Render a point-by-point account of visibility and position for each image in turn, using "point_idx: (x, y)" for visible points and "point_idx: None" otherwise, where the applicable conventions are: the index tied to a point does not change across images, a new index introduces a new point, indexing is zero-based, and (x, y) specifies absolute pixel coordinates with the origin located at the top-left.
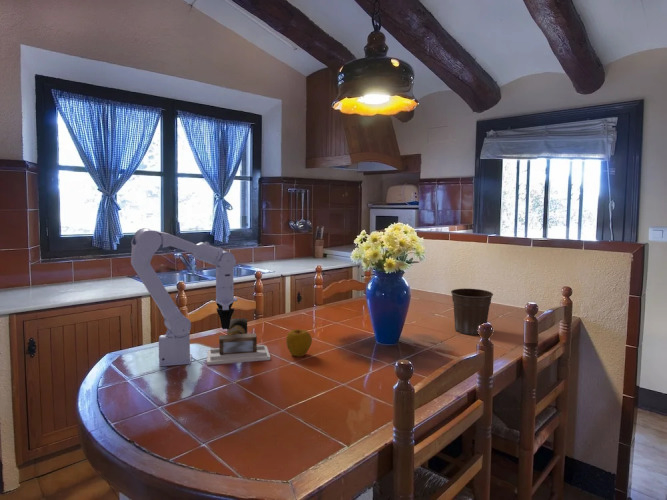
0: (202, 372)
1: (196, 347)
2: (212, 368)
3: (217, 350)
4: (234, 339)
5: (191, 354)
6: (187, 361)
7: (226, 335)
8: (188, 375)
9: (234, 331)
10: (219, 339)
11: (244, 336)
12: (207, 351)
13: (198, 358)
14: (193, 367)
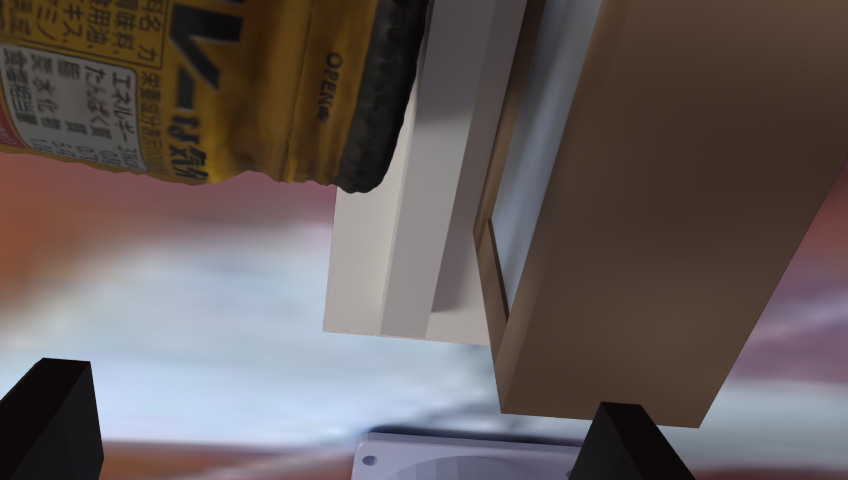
0: (839, 382)
1: (95, 380)
2: (805, 308)
3: (440, 262)
4: (797, 218)
5: (371, 443)
6: (549, 473)
7: (558, 325)
8: (823, 462)
9: (215, 121)
10: (696, 423)
11: (832, 23)
12: (369, 335)
13: (458, 385)
14: (673, 429)
